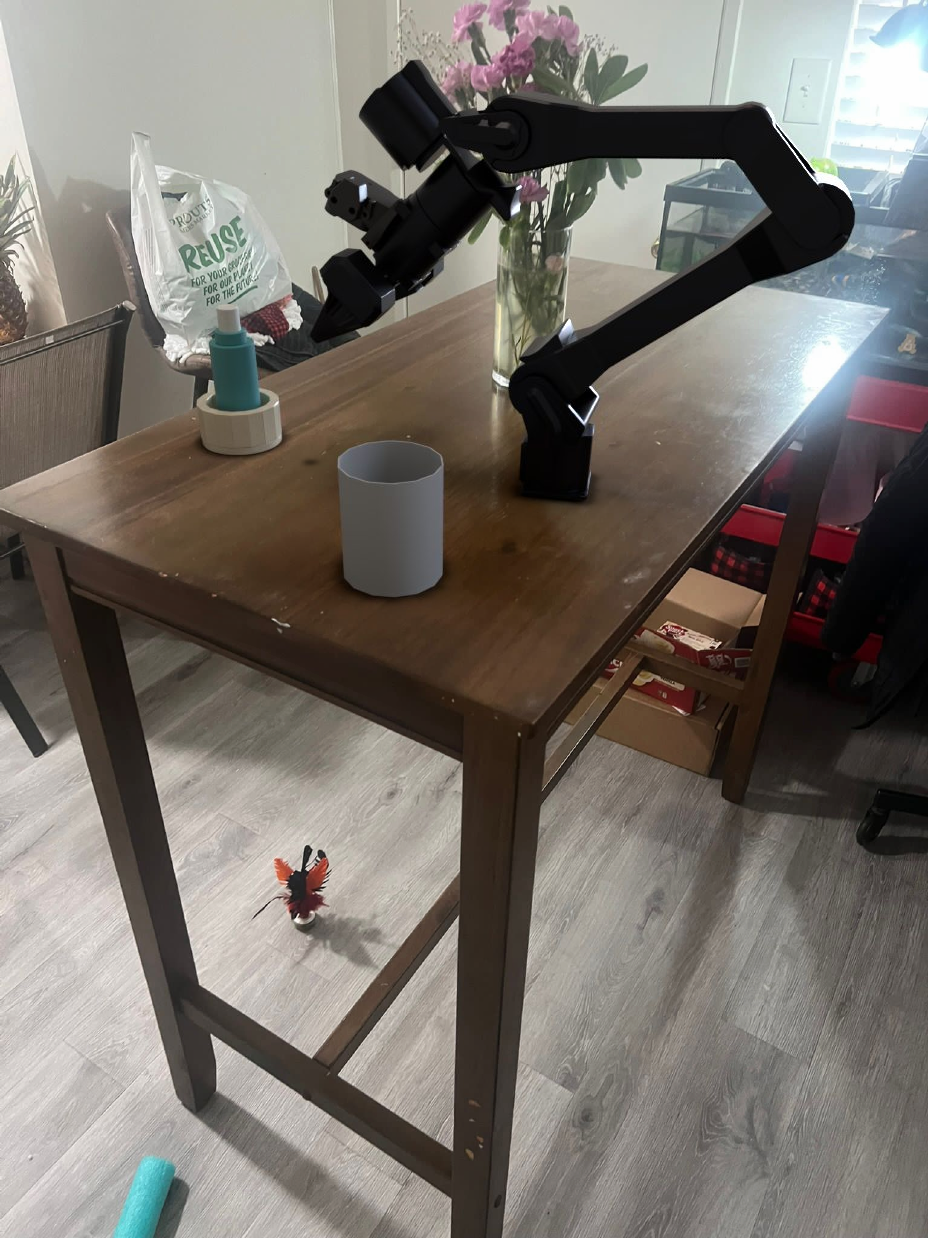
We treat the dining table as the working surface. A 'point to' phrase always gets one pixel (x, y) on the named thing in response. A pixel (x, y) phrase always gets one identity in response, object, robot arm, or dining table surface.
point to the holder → (240, 426)
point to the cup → (391, 517)
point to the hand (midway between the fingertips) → (332, 326)
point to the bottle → (233, 363)
